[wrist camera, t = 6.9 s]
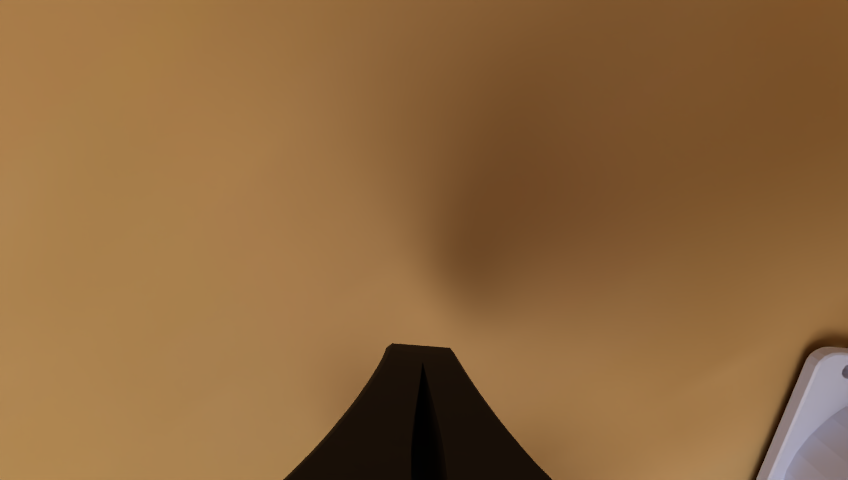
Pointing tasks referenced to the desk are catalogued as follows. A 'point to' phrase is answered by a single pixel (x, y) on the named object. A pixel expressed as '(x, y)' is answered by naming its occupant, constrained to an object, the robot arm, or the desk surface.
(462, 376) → the robot arm
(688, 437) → the desk surface
